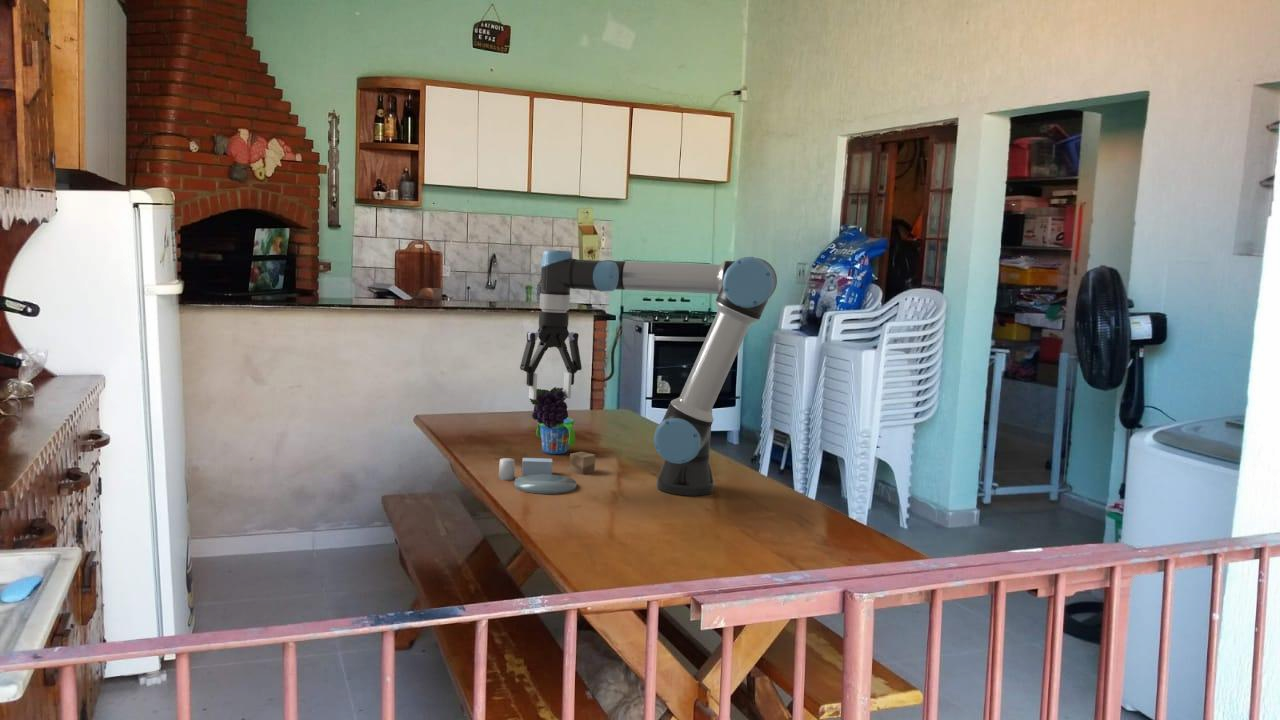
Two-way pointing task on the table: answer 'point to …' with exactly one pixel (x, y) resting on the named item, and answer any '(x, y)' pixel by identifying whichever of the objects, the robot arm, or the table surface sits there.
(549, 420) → the fruit
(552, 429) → the snack cup
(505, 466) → the grey plastic peg
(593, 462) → the walnut block
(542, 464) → the dusty blue block
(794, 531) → the table surface
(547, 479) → the plate
